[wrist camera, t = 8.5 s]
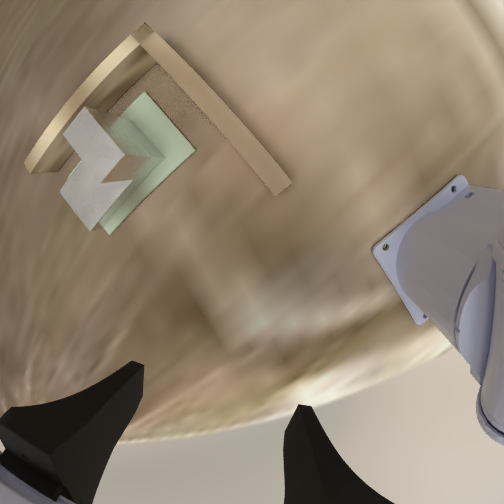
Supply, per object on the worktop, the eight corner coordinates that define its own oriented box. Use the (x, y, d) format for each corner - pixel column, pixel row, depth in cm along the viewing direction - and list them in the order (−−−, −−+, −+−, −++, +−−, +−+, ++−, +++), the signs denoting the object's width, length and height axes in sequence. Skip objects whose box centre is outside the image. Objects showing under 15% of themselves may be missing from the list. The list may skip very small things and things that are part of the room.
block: (131, 119, 19) (84, 106, 13) (165, 157, 19) (124, 154, 13) (74, 189, 20) (22, 198, 14) (104, 226, 21) (55, 245, 15)
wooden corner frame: (162, 41, 17) (144, 22, 14) (289, 181, 19) (292, 182, 16) (51, 161, 20) (23, 162, 17) (152, 293, 22) (133, 313, 19)
